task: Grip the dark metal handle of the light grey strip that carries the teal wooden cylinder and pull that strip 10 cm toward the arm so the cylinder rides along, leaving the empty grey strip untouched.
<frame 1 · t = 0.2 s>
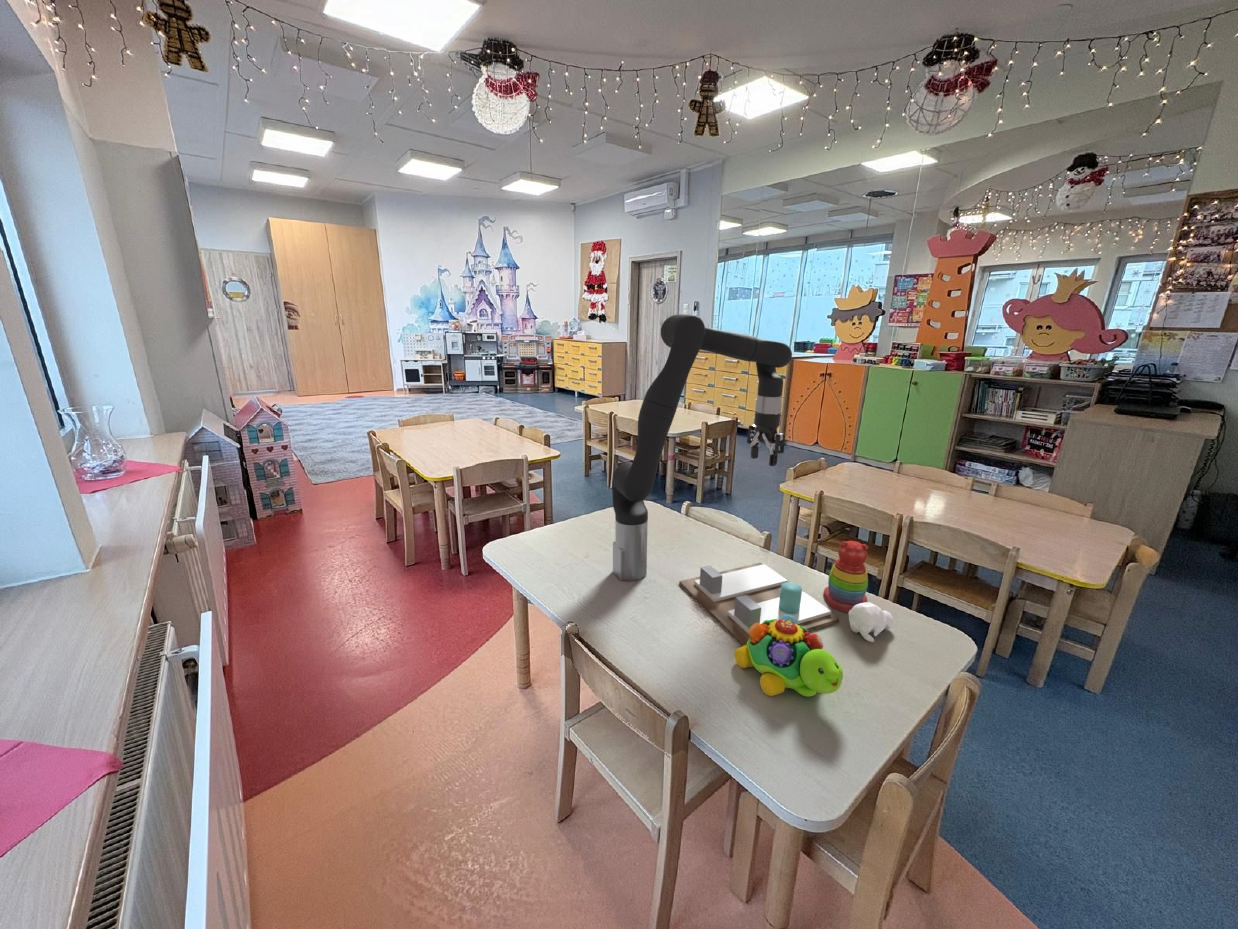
hand: (763, 461, 155), 29 cm above the table, tool pointing down, fingers open, 8 cm apart
lane board: (754, 602, 133), on the table
loaded strip: (780, 604, 125), point 4 cm above the table, slide at 0.0 cm, touching teal cylinder
white toy rabbit: (870, 633, 121), on the table
empty strip: (741, 574, 139), point 4 cm above the table, slide at 0.0 cm
teal cylinder: (789, 608, 126), point 2 cm above the table, touching loaded strip
turtle toy: (789, 679, 106), on the table
stacking bear: (844, 603, 133), on the table
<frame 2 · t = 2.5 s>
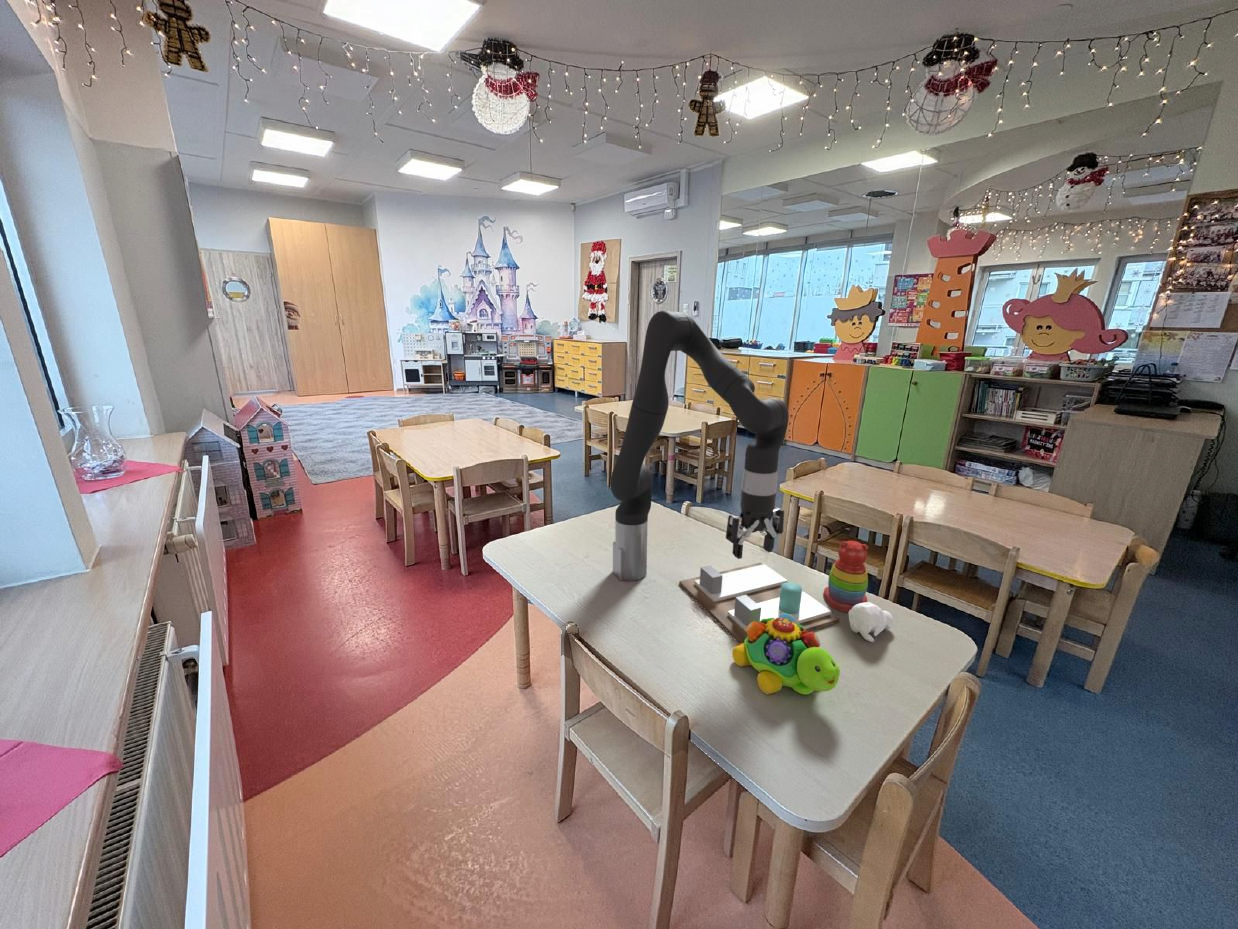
hand: (753, 554, 116), 20 cm above the table, tool pointing down, fingers open, 8 cm apart
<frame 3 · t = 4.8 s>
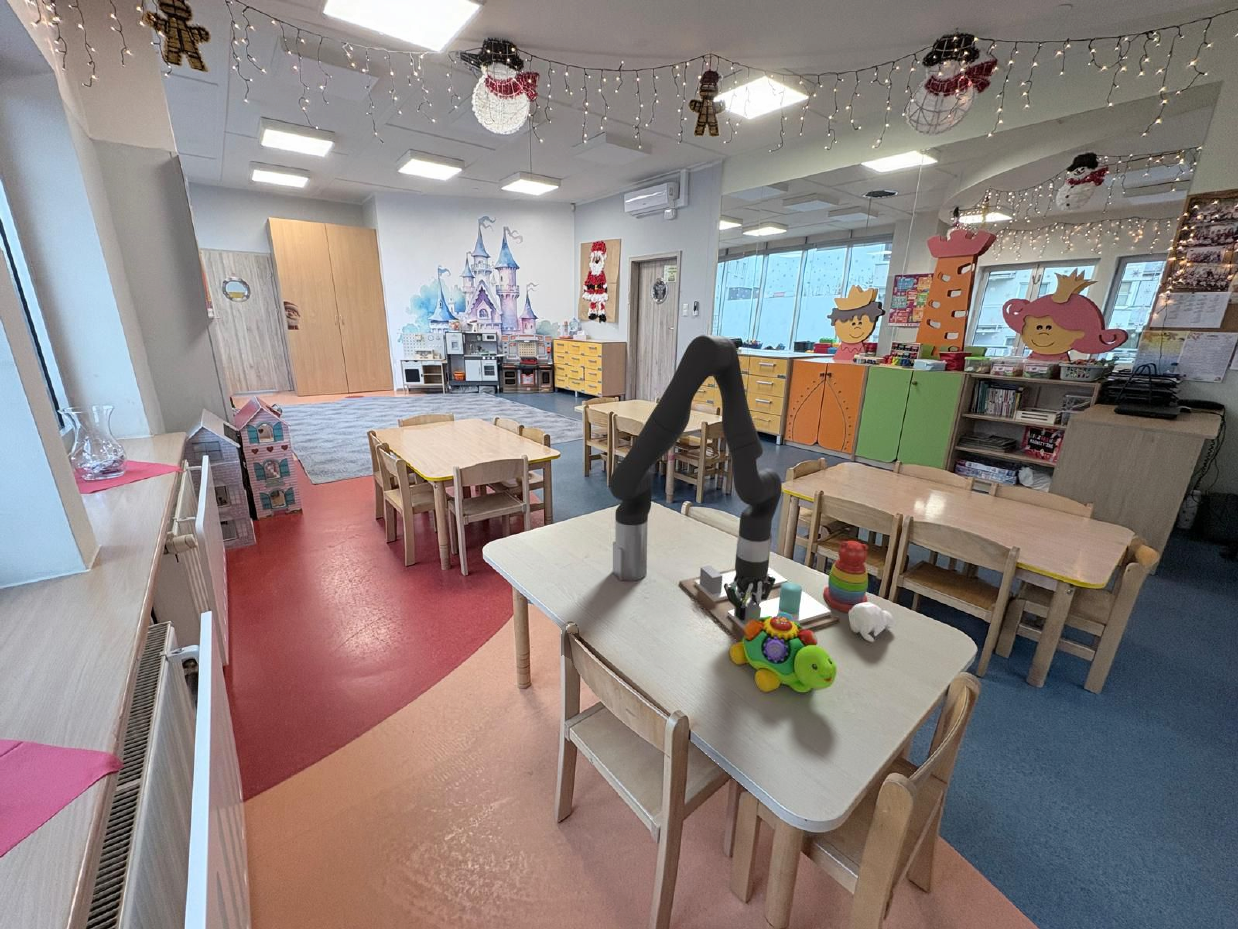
hand: (746, 616, 121), 3 cm above the table, tool pointing down, fingers closed on loaded strip, 3 cm apart
loaded strip: (780, 604, 125), point 4 cm above the table, slide at 0.0 cm, touching gripper, teal cylinder
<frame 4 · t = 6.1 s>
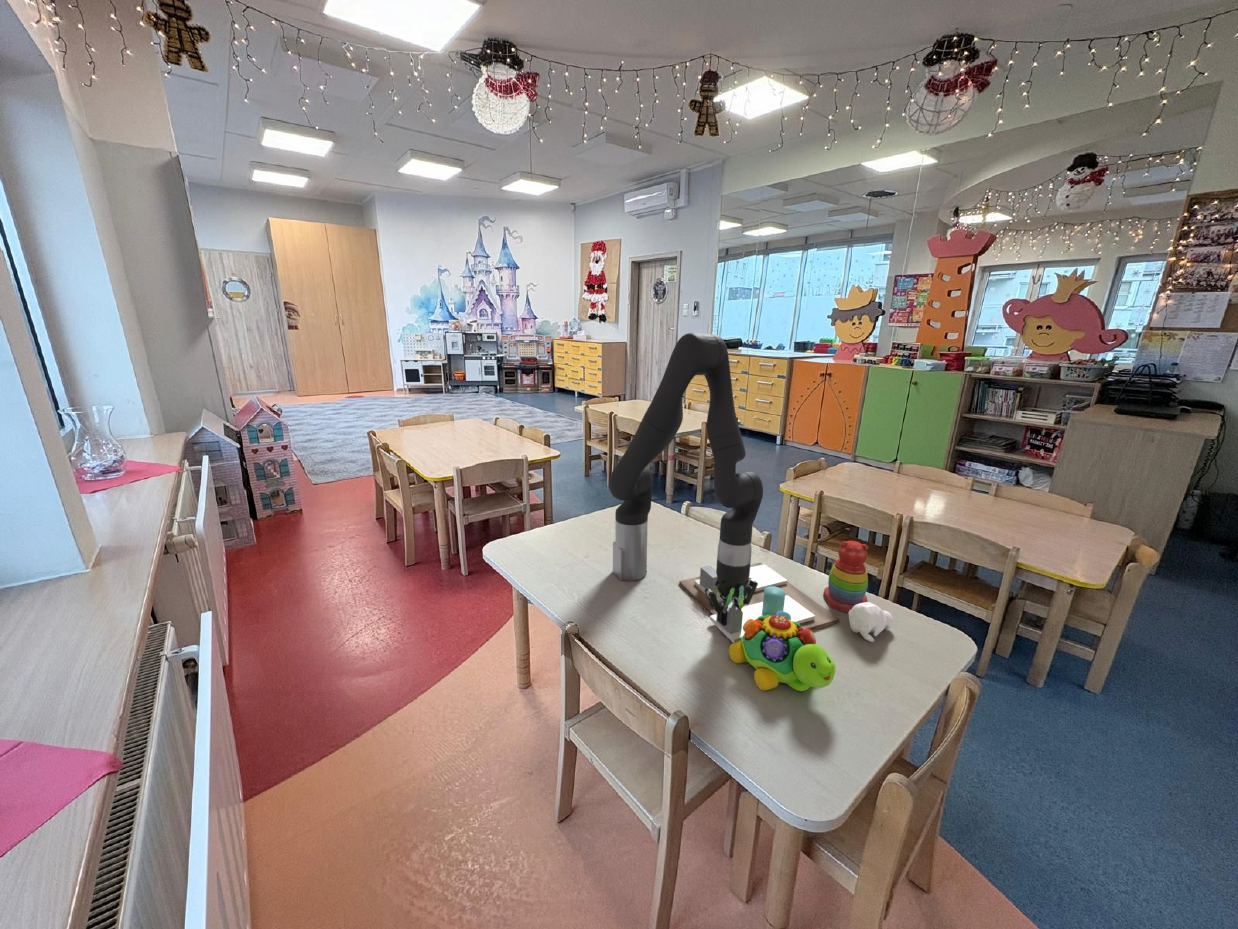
hand: (729, 621, 119), 3 cm above the table, tool pointing down, fingers closed on loaded strip, 3 cm apart
loaded strip: (763, 608, 123), point 4 cm above the table, slide at 5.2 cm, touching gripper, teal cylinder
teal cylinder: (772, 613, 124), point 2 cm above the table, touching loaded strip
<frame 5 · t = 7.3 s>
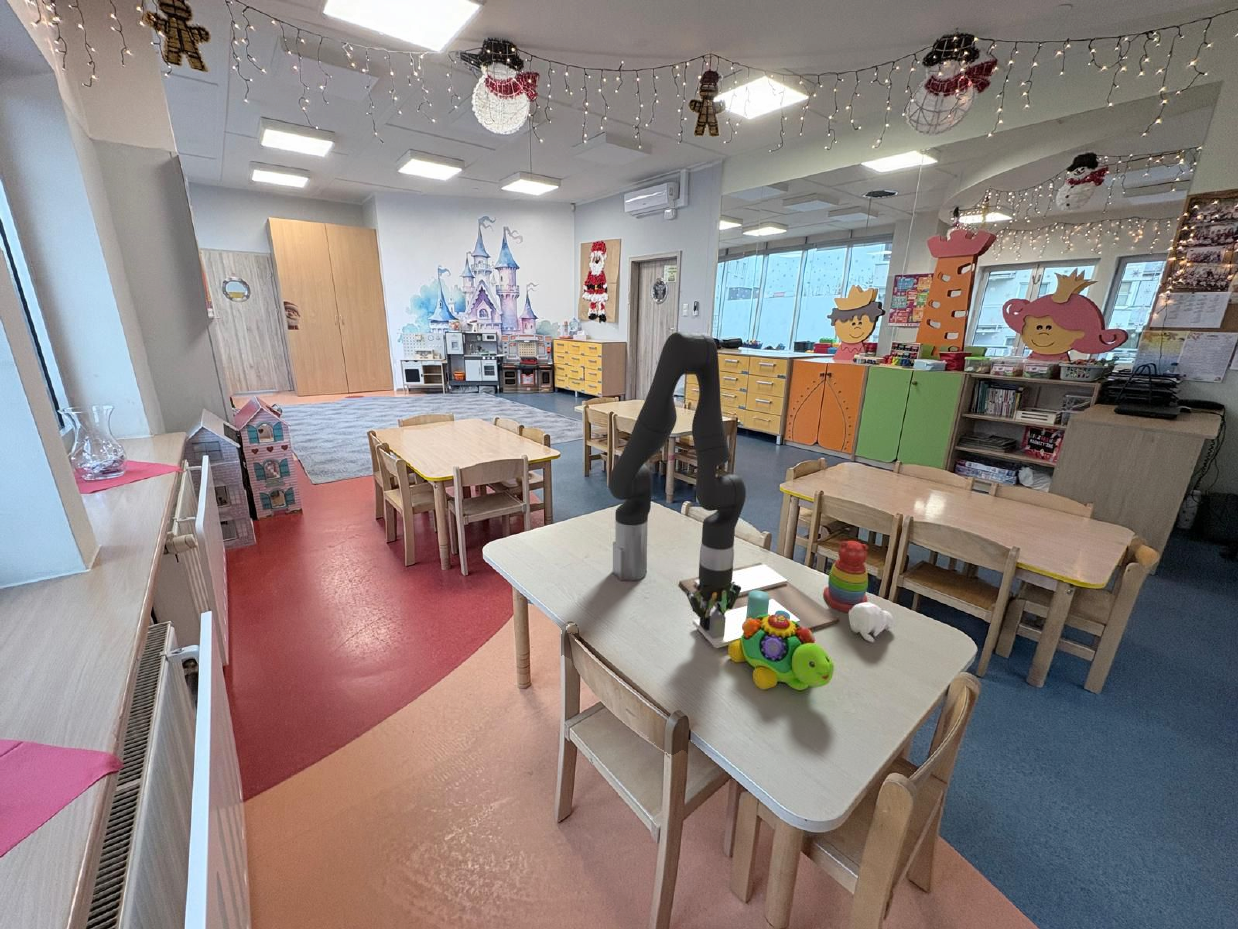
hand: (711, 626, 118), 3 cm above the table, tool pointing down, fingers closed on loaded strip, 3 cm apart
loaded strip: (747, 613, 121), point 4 cm above the table, slide at 10.0 cm, touching gripper, teal cylinder
teal cylinder: (756, 617, 123), point 2 cm above the table, touching loaded strip
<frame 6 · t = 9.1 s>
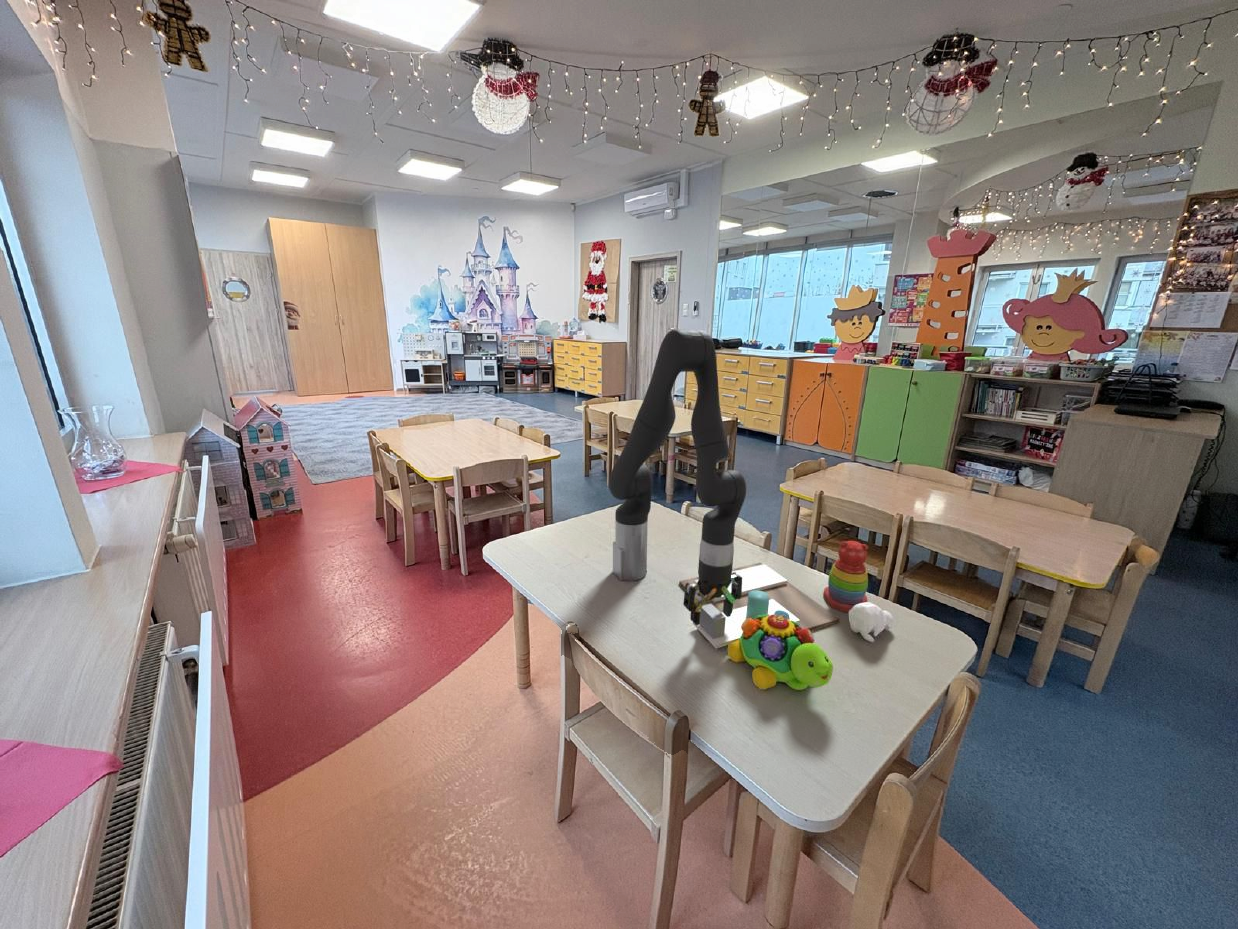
hand: (711, 619, 117), 5 cm above the table, tool pointing down, fingers open, 8 cm apart
loaded strip: (747, 613, 121), point 4 cm above the table, slide at 10.0 cm, touching teal cylinder
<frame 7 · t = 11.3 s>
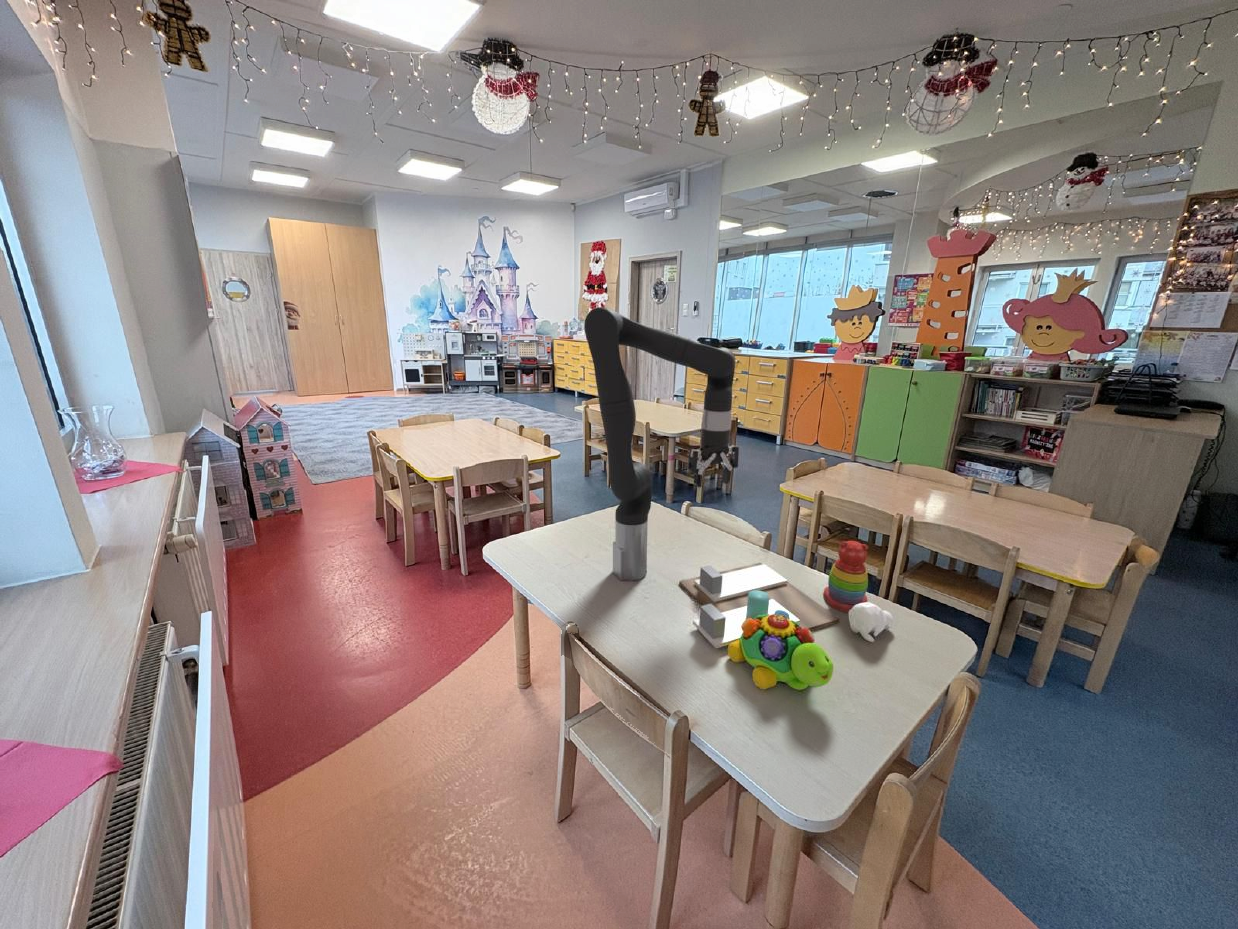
hand: (711, 484, 136), 29 cm above the table, tool pointing down, fingers open, 8 cm apart
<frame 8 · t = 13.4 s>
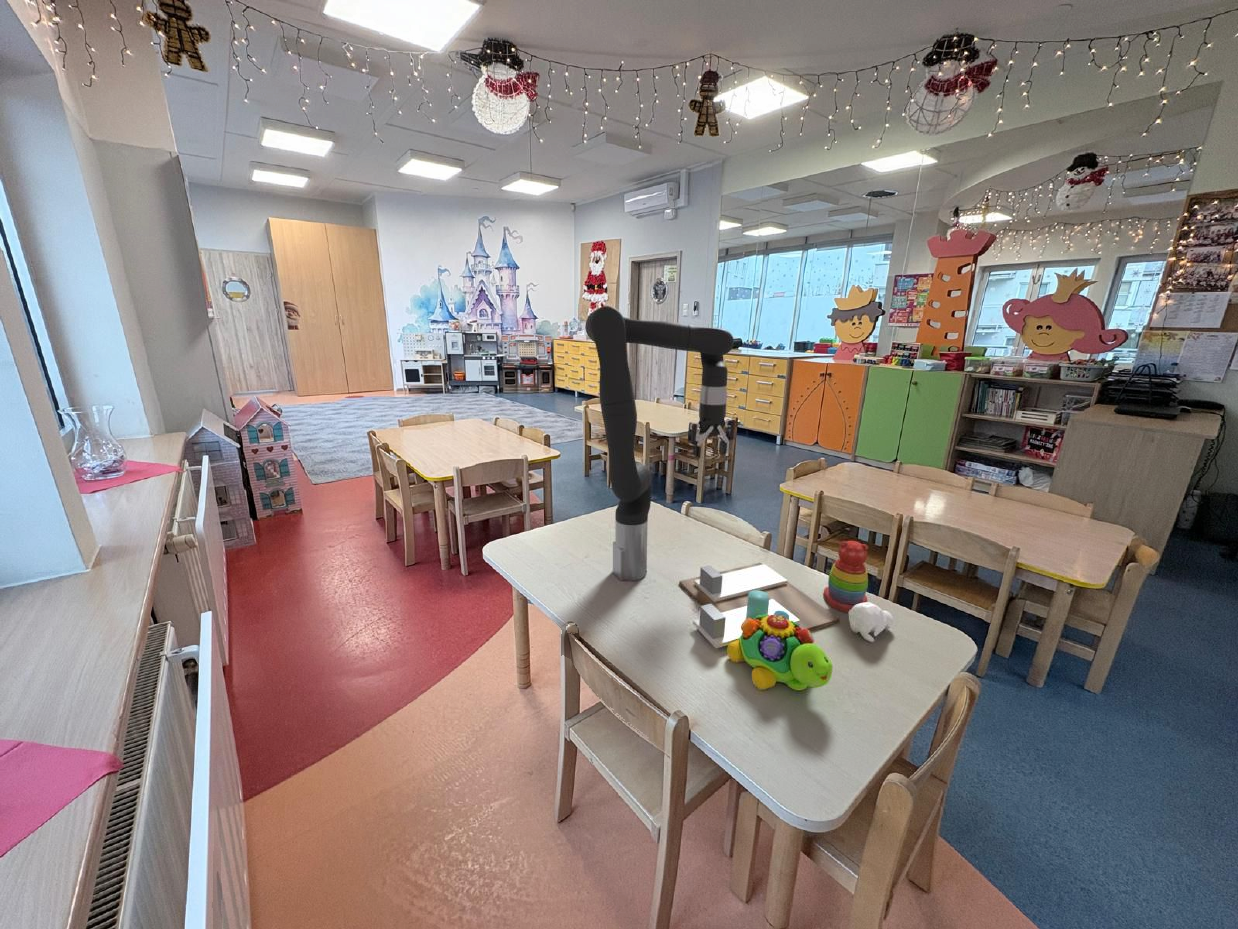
hand: (709, 456, 147), 33 cm above the table, tool pointing down, fingers open, 8 cm apart
at the end: loaded strip slide at 10.0 cm; teal cylinder inside the target area (0.0 cm from its centre), point 2.2 cm above the table; empty strip slide at 0.0 cm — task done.
